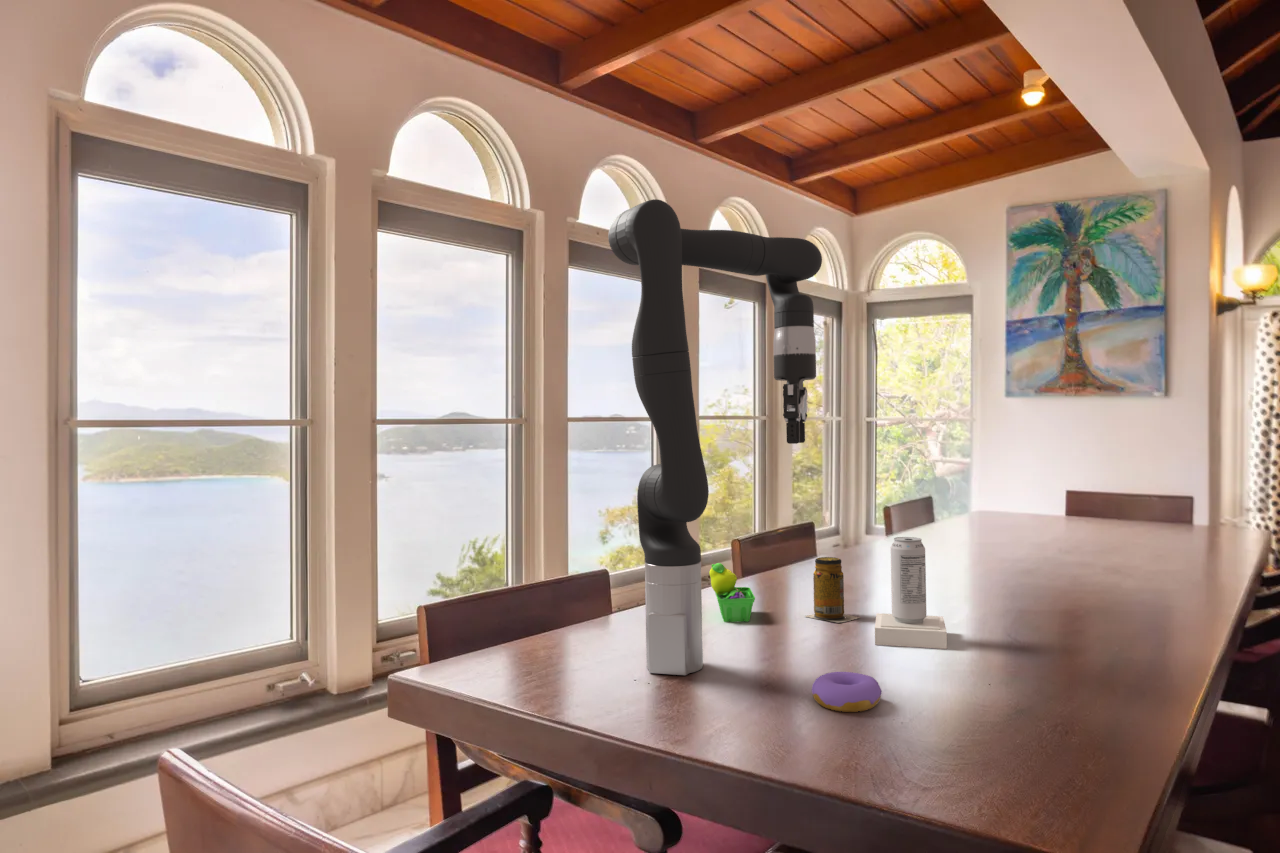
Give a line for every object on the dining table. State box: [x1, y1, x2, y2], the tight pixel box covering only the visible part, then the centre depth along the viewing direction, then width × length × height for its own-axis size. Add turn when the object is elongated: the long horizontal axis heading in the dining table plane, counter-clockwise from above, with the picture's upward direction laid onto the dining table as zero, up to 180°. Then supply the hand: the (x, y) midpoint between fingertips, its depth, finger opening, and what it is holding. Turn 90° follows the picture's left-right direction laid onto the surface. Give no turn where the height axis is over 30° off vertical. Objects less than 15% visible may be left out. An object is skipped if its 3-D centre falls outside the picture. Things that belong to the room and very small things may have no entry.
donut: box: [811, 671, 882, 713], centre depth 117 cm, size 10×9×5 cm
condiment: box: [805, 556, 861, 624], centre depth 170 cm, size 7×8×12 cm
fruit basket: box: [708, 562, 756, 623], centre depth 172 cm, size 11×9×11 cm
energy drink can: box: [890, 536, 927, 624], centre depth 152 cm, size 6×6×15 cm
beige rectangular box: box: [874, 612, 948, 650], centre depth 152 cm, size 12×12×3 cm
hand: (796, 443), depth 150 cm, fingers open, 8 cm apart
